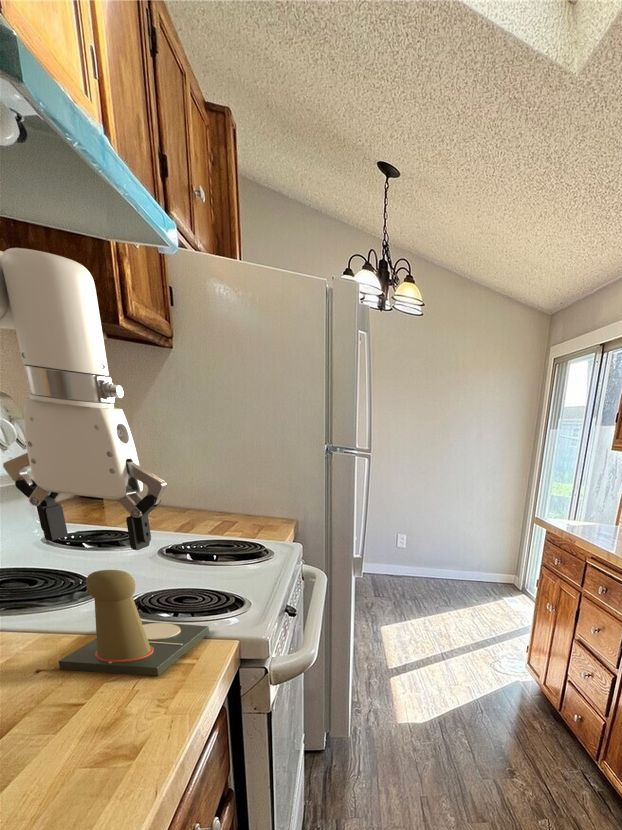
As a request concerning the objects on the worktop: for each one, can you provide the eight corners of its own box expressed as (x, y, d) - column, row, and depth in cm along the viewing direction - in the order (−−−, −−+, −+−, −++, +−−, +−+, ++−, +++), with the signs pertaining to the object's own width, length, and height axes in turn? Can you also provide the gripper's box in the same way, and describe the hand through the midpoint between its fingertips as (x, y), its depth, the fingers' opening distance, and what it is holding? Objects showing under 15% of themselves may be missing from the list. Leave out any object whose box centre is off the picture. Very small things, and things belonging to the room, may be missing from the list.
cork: (85, 654, 73) (66, 572, 68) (125, 639, 78) (109, 563, 74) (124, 663, 72) (107, 581, 67) (161, 647, 77) (148, 570, 73)
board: (60, 669, 72) (57, 659, 71) (128, 627, 86) (126, 618, 85) (158, 676, 73) (156, 666, 72) (209, 633, 87) (208, 624, 87)
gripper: (169, 401, 66) (186, 545, 73) (11, 379, 64) (44, 529, 71) (135, 400, 59) (157, 558, 67) (-43, 375, 57) (0, 541, 65)
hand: (99, 543), depth 69 cm, fingers open, 9 cm apart
